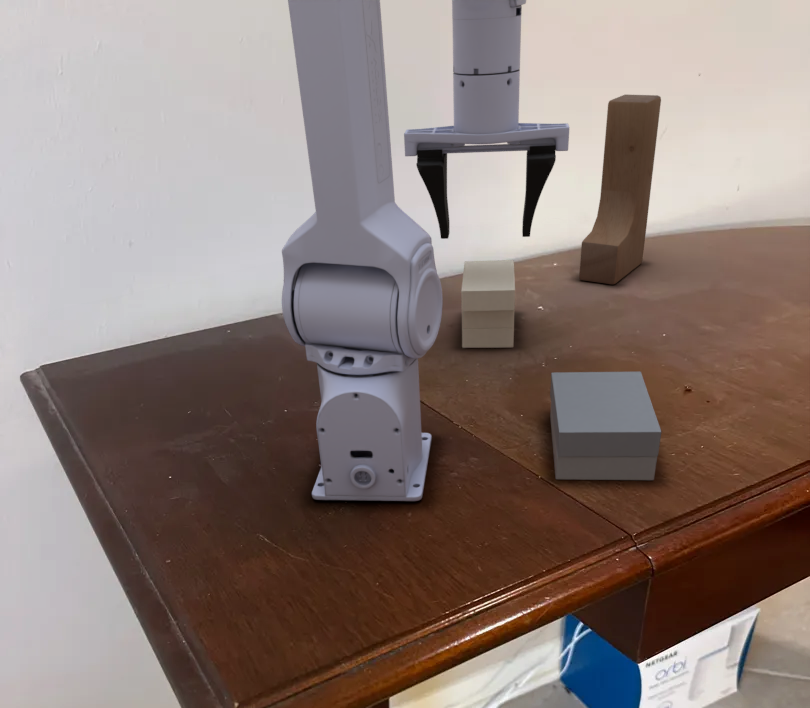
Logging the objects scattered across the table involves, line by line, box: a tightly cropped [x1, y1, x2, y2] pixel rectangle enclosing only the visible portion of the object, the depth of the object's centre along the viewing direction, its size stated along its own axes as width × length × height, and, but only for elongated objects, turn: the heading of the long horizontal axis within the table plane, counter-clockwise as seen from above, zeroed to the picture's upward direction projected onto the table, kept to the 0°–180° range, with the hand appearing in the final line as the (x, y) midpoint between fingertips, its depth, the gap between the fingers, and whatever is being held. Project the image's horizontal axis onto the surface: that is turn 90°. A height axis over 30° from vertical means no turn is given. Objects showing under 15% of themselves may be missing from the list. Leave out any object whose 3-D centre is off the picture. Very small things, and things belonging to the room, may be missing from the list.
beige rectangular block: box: [460, 259, 516, 312], centre depth 80 cm, size 9×5×2 cm, turn 175°
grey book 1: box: [549, 371, 662, 458], centre depth 61 cm, size 10×7×2 cm
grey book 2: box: [549, 405, 658, 481], centre depth 62 cm, size 10×7×2 cm
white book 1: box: [461, 310, 515, 329], centre depth 82 cm, size 9×5×2 cm, turn 174°
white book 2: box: [461, 327, 515, 349], centre depth 83 cm, size 9×5×2 cm, turn 174°
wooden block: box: [578, 94, 662, 285], centre depth 91 cm, size 9×4×18 cm, turn 146°
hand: (485, 235), depth 77 cm, fingers open, 7 cm apart
